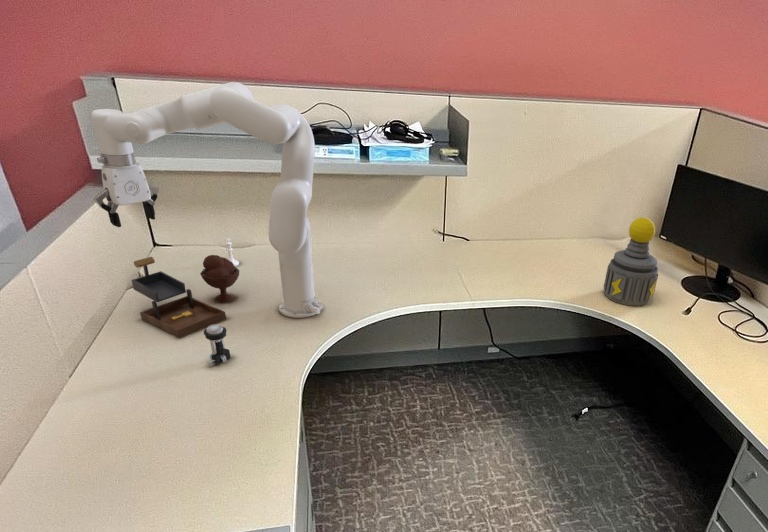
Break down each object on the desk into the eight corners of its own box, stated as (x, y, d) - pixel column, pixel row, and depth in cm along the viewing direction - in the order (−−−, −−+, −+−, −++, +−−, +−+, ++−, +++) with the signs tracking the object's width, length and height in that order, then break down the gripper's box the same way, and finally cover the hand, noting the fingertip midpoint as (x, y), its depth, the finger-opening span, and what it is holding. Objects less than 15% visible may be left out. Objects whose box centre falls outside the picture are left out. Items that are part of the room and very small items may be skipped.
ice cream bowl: (230, 308, 175) (223, 263, 167) (198, 302, 176) (189, 257, 169) (250, 295, 184) (243, 252, 176) (219, 289, 185) (211, 246, 178)
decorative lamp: (592, 293, 211) (607, 215, 195) (619, 282, 223) (635, 207, 208) (635, 311, 200) (655, 230, 185) (661, 298, 213) (681, 221, 197)
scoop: (186, 292, 169) (181, 266, 164) (157, 302, 162) (152, 275, 157) (161, 279, 173) (156, 253, 168) (131, 288, 166) (126, 262, 161)
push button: (217, 370, 146) (210, 336, 141) (201, 365, 147) (194, 331, 142) (236, 358, 151) (230, 325, 146) (220, 353, 153) (213, 321, 148)
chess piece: (241, 264, 204) (237, 238, 199) (228, 267, 201) (223, 240, 196) (235, 260, 207) (231, 234, 202) (221, 263, 204) (217, 236, 199)
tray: (226, 319, 169) (222, 299, 166) (179, 338, 158) (174, 317, 154) (189, 302, 176) (185, 283, 173) (141, 320, 164) (136, 299, 161)
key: (192, 313, 169) (192, 314, 169) (187, 311, 169) (188, 312, 170) (175, 319, 164) (175, 320, 164) (170, 317, 165) (170, 318, 165)
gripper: (93, 167, 142) (111, 232, 151) (158, 157, 155) (171, 218, 164) (76, 161, 145) (94, 226, 154) (142, 153, 158) (155, 212, 167)
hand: (134, 222), depth 159 cm, fingers open, 9 cm apart
